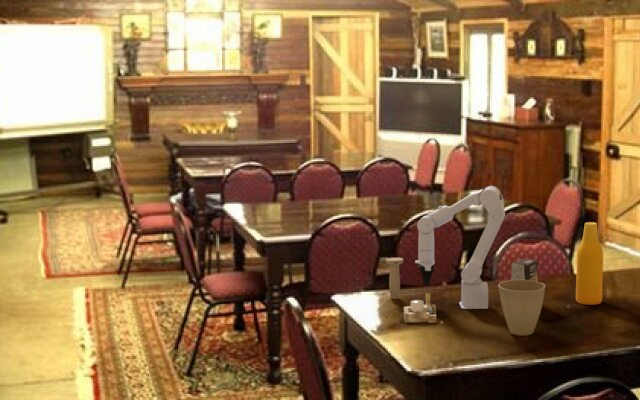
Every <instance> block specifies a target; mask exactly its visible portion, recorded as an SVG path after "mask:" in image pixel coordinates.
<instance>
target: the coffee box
mask: <svg viewBox="0 0 640 400" xmlns="http://www.w3.org/2000/svg"><path fill="white" fill-rule="evenodd" d="M510 273H511V278H510V280H532V281H538V260H537V259H536V260H535V259H531V258H530V259H529V258H527V259H526V258H521V259H518V260H515V261H513V262H511V272H510Z"/></svg>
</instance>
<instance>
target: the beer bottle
mask: <svg viewBox="0 0 640 400" xmlns="http://www.w3.org/2000/svg"><path fill="white" fill-rule="evenodd" d="M603 273H604V251H603V247H602V245H601V243H600V240H599V232H598V223H597V222H593V221H592V222H591V221H589V222H585V223H584V227H583V234H582V239H581V242H580V244H579V246H578V249H577V252H576V277H575V279H576V282H575V284H576V285H575V301H576V302H577V303H578V304H581V305H588V306H595V305H599V304H601V303H602V301H603V279H604V277H603Z"/></svg>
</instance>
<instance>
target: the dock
mask: <svg viewBox="0 0 640 400" xmlns="http://www.w3.org/2000/svg"><path fill="white" fill-rule="evenodd" d="M431 307H432V313H433V314H429V313H428V311H427V306H426V303H425V304H424V313H411V306H403V318H404V322H405V323H428V324H429V323H432V324H434V323H437V305H436V304H432V303H431Z"/></svg>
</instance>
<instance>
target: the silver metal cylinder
mask: <svg viewBox="0 0 640 400" xmlns="http://www.w3.org/2000/svg"><path fill="white" fill-rule="evenodd" d="M410 307H411V313H424V300H421V299H414V300H411V301H410Z"/></svg>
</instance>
